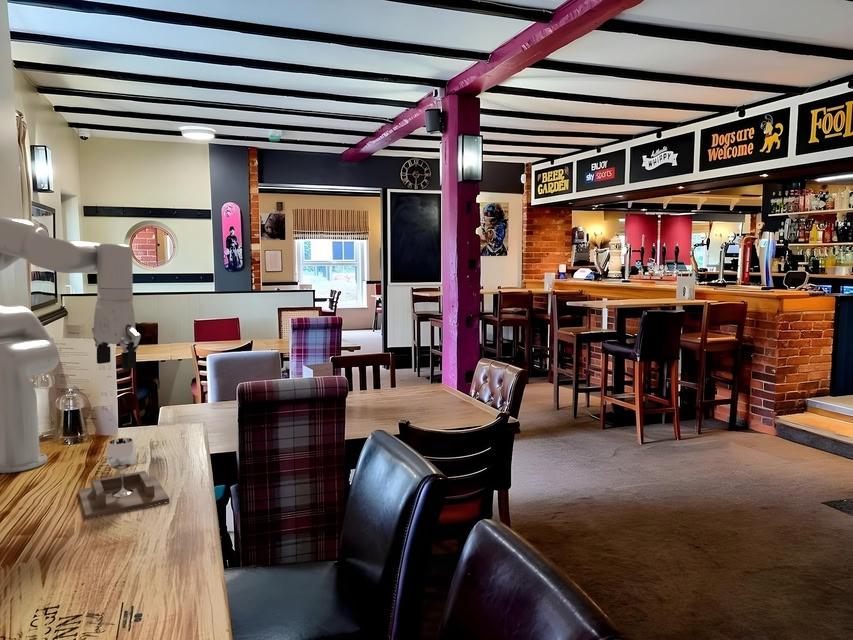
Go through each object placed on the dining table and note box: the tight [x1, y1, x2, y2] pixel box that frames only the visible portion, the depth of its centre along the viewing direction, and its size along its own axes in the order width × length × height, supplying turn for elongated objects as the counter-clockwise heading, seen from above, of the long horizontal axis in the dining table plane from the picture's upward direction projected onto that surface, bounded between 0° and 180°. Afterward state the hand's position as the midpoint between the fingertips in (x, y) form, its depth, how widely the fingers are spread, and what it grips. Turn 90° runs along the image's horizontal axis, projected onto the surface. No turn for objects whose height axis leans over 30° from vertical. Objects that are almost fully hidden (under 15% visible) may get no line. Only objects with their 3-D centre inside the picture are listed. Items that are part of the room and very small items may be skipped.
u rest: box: [78, 470, 170, 520], centre depth 133 cm, size 16×16×4 cm
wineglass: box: [106, 437, 137, 497], centre depth 132 cm, size 6×6×12 cm
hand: (115, 365), depth 145 cm, fingers open, 9 cm apart
